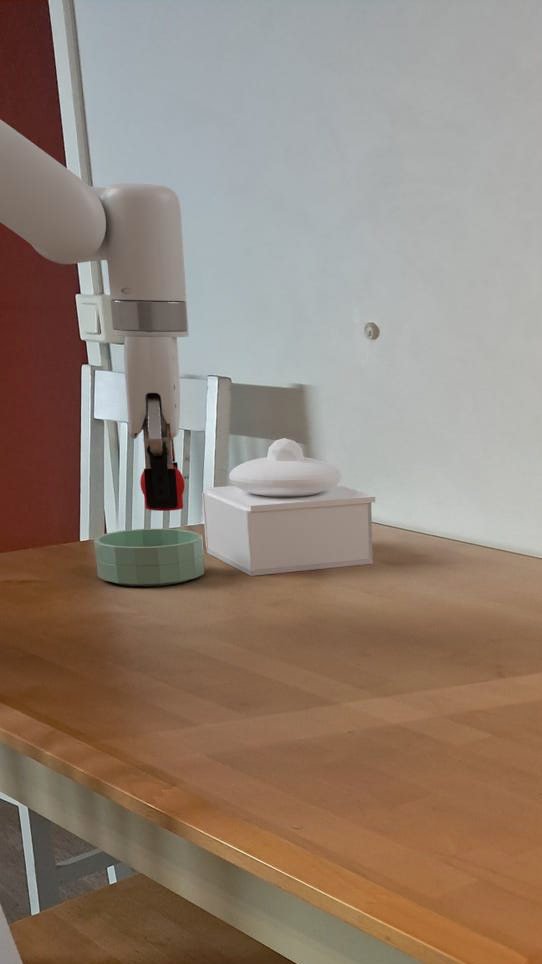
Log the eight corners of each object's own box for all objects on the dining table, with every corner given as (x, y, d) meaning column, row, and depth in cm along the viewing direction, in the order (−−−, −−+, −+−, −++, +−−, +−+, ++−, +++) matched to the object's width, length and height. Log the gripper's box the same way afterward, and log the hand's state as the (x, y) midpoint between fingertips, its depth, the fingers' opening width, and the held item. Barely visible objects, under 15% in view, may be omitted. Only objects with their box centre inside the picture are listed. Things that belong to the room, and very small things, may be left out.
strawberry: (141, 511, 135) (137, 462, 133) (143, 504, 139) (139, 457, 137) (185, 511, 136) (182, 462, 134) (186, 504, 140) (183, 457, 138)
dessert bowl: (94, 589, 156) (89, 548, 154) (103, 568, 168) (99, 529, 166) (204, 586, 158) (200, 546, 156) (205, 565, 170) (202, 527, 168)
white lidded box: (206, 552, 178) (197, 433, 172) (325, 542, 186) (320, 428, 180) (250, 576, 164) (242, 447, 158) (376, 563, 172) (373, 441, 166)
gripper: (118, 318, 137) (133, 492, 144) (104, 322, 122) (122, 517, 129) (190, 319, 138) (200, 492, 145) (185, 323, 123) (197, 516, 130)
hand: (163, 502), depth 137 cm, fingers closed on strawberry, 4 cm apart
